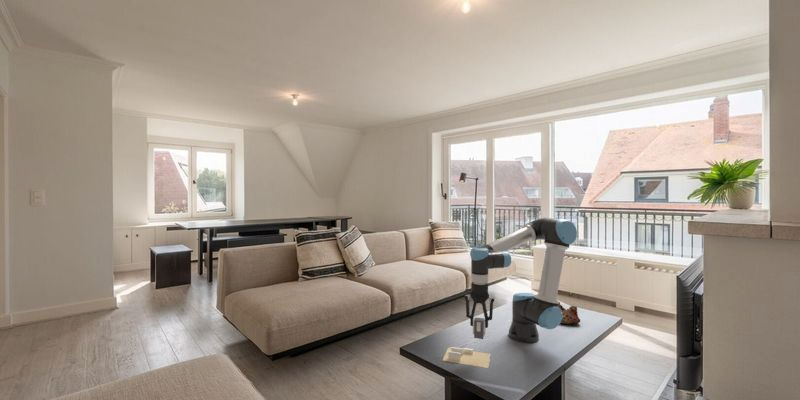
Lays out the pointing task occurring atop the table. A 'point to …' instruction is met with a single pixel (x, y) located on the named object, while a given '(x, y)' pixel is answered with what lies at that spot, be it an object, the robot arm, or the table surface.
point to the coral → (569, 315)
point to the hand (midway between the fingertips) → (479, 333)
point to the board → (467, 357)
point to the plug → (478, 328)
